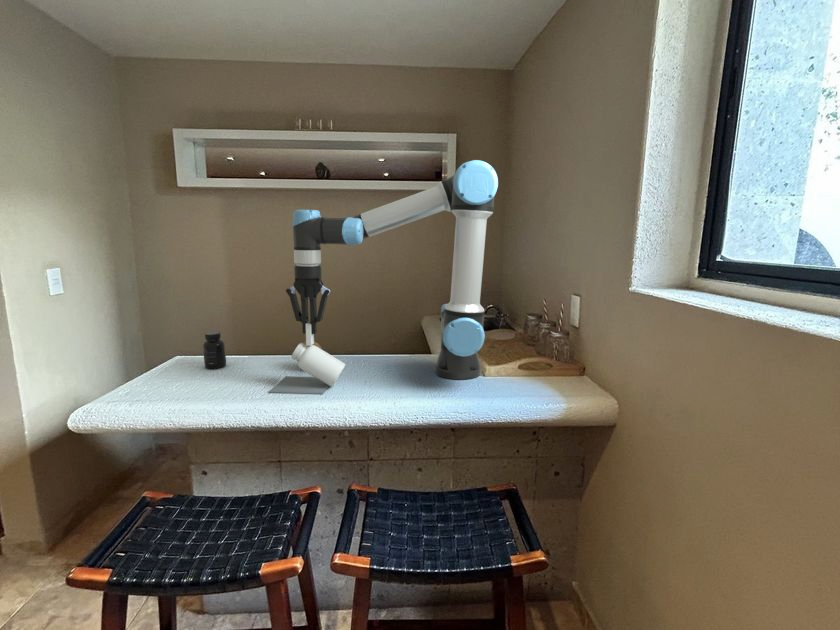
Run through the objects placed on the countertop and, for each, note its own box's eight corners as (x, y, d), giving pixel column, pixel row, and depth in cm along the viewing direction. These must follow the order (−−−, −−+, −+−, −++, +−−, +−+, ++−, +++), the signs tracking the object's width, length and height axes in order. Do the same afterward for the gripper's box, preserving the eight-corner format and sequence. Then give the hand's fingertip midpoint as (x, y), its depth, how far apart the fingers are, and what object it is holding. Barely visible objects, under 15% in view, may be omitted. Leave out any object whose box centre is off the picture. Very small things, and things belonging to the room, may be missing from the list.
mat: (335, 378, 143) (335, 377, 143) (322, 394, 129) (322, 393, 129) (285, 377, 144) (285, 376, 144) (268, 393, 130) (268, 391, 130)
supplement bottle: (210, 363, 158) (208, 330, 156) (230, 364, 158) (227, 330, 156) (200, 369, 151) (197, 335, 149) (220, 370, 151) (217, 335, 149)
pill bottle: (333, 383, 130) (288, 356, 129) (330, 389, 137) (288, 364, 136) (347, 361, 133) (304, 334, 133) (344, 368, 140) (302, 343, 140)
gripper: (333, 264, 133) (334, 342, 137) (290, 263, 133) (293, 340, 138) (326, 266, 125) (328, 348, 130) (280, 265, 126) (284, 346, 130)
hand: (310, 344), depth 134 cm, fingers closed
